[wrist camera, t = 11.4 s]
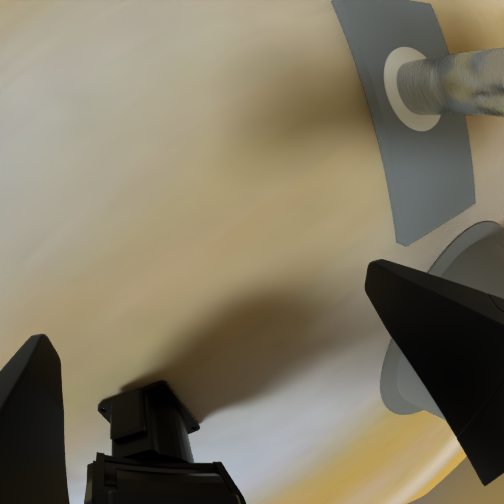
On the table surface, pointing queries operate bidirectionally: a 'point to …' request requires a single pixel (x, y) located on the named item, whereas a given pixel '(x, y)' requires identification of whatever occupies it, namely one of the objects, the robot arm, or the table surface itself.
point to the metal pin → (454, 84)
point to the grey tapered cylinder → (460, 271)
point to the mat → (409, 115)
